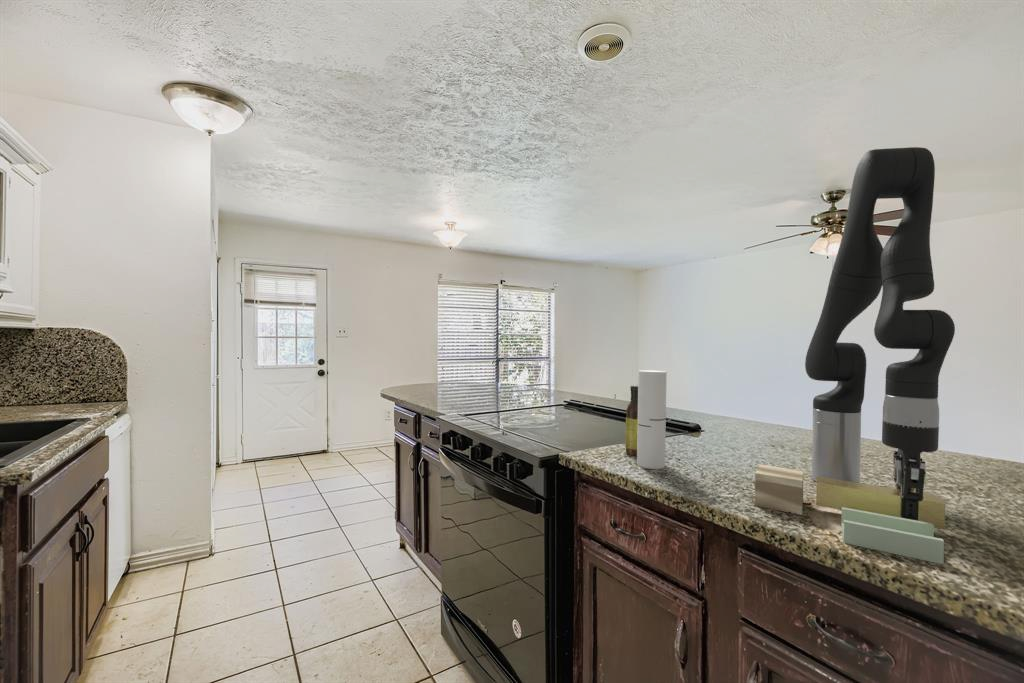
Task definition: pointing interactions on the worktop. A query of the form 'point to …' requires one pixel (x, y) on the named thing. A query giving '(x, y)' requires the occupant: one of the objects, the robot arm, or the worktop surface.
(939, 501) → the long yellowish block
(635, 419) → the sauce bottle
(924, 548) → the cradle
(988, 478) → the worktop surface
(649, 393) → the cylindrical container
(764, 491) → the beige u-shaped block
